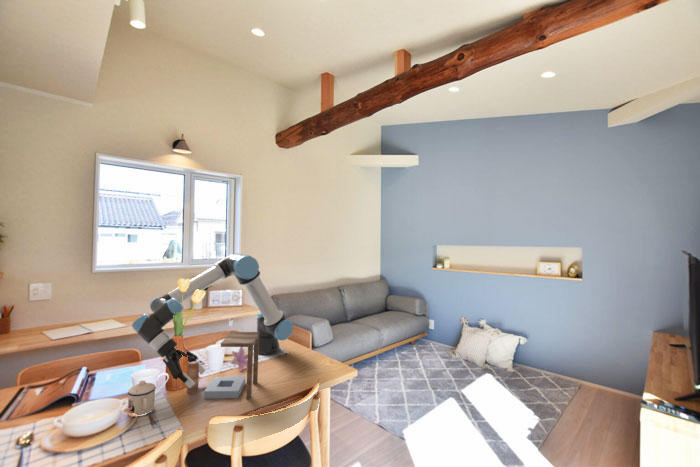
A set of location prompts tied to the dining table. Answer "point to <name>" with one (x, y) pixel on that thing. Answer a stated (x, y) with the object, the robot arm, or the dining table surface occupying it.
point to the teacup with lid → (141, 398)
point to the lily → (240, 358)
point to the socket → (224, 387)
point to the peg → (193, 375)
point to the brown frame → (248, 341)
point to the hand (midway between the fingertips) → (198, 378)
